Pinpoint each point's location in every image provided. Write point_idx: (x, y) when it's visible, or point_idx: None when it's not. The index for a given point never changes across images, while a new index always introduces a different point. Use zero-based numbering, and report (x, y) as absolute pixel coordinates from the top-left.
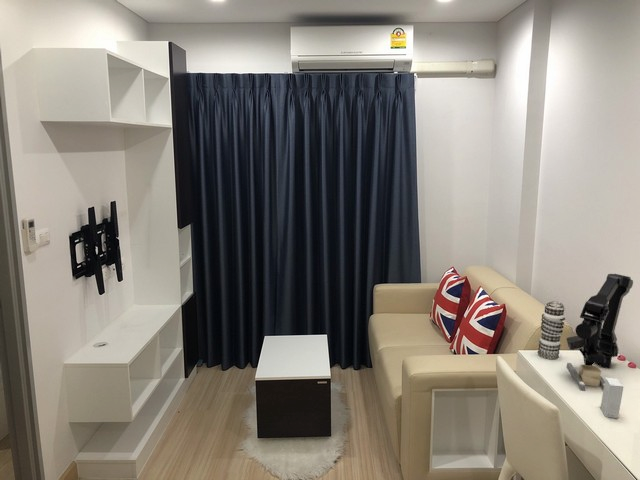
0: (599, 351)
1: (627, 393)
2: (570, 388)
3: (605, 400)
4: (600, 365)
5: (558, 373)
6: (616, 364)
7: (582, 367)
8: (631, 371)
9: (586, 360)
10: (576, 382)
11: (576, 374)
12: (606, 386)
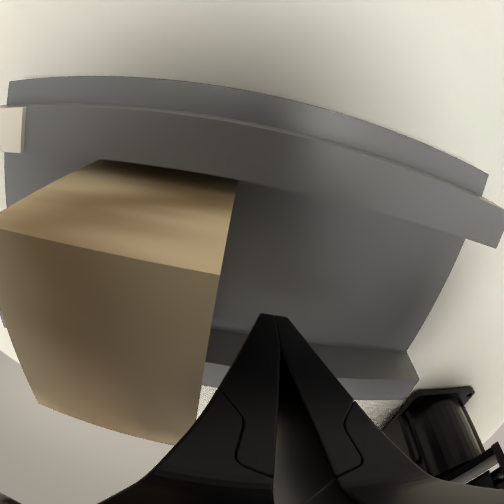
0: (462, 472)
1: None
2: (83, 39)
3: None
4: (417, 416)
5: (407, 60)
6: None
7: (78, 242)
8: None
9: (183, 441)
10: (113, 105)
11: (217, 150)
12: None
